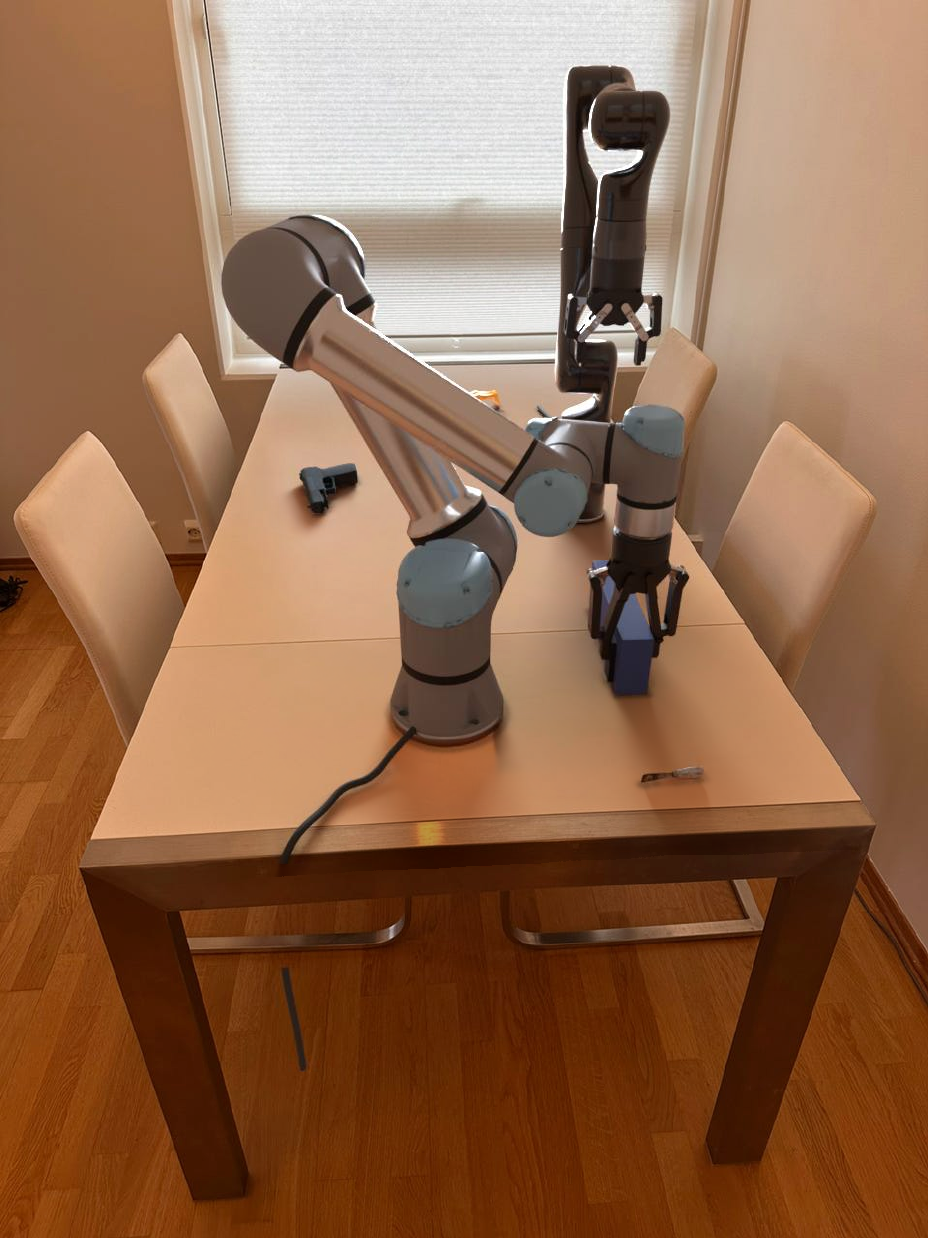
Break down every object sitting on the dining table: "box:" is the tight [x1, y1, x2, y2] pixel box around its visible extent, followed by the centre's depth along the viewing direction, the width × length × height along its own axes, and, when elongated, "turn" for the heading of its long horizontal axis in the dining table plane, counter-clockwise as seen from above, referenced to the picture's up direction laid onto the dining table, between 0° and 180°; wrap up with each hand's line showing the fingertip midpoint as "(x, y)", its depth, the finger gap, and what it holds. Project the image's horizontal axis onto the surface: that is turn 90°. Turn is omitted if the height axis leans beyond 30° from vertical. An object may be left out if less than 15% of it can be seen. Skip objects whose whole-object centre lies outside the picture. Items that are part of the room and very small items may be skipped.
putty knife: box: [640, 765, 705, 784], centre depth 109 cm, size 1×8×2 cm, turn 103°
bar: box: [591, 559, 654, 696], centre depth 131 cm, size 23×4×9 cm, turn 3°
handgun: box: [298, 462, 359, 515], centre depth 181 cm, size 3×18×12 cm
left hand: (626, 675), depth 127 cm, fingers closed on bar, 4 cm apart
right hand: (609, 364), depth 137 cm, fingers open, 8 cm apart
